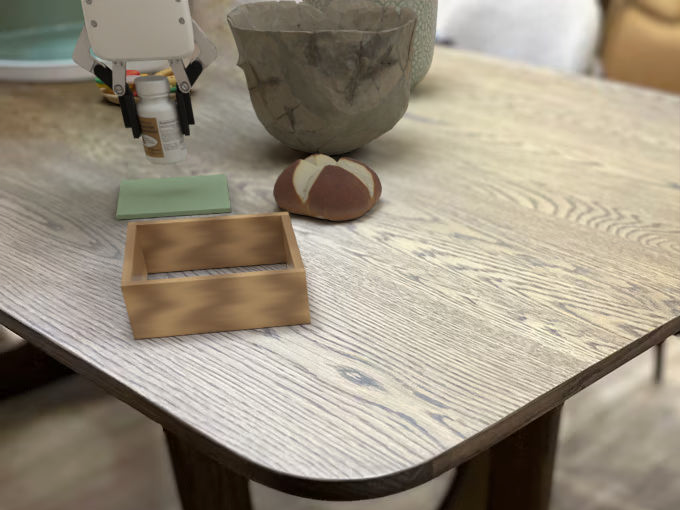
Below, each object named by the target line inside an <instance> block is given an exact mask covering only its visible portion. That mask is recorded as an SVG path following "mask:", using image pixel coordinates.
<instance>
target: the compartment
mask: <svg viewBox="0 0 680 510" xmlns="http://www.w3.org/2000/svg"><path fill="white" fill-rule="evenodd" d="M303 261H304V260H303V258H302V255H301V252H300V248H299V243H298V241H297V238H296V234H295V231H294V226H293V223H292V220H291V217H290V212H288V211H280V212H279V211H277V212H276V211H275V212H263V213H262V212H261V213H247V214H234V215H233V214H232V215H219V216H217V215H216V216H204V217H191V218H190V217H189V218H174V219H173V218H172V219H157V220H144V221H129V222H127V226H126V236H125V245H124V254H123V262H122V263H123V264H122V272H121V281H120V289H121V293H122V297H123V301H124V305H125V308H126V309H125V310H126V312H127V316H128V321H129V324H130V328H131V331H132V336H133V339H134V340H143V339H153V338H154V339H155V338H165V337H176V336H185V335H197V334H208V333H218V332H230V331H240V330H252V329H262V328H274V327H284V326H294V325H295V326H296V325H306V324H311V322H312V321H311V320H312V319H311V309H310V302H309V300H310V299H309V293H308V281H307V272H306V268H305V265H304V262H303ZM272 264H273V265H274V264H275V265H276V264H286V268H285V269H271V270H260V271H259V270H258V271H257V270H256V271H246V272H244V271H243V272H235V273H234V272H232V273H222V274H220V273H219V274H210V275H209V274H208V275H197V276H196V275H195V276H185V277H184V276H183V277H171V278H170V277H169V278H159V279H158V278H157V279H148V276H149V274H158V273H172V272H183V271H184V272H185V271H198V270H209V269H210V270H212V269H222V268H223V269H224V268H233V267H236V268H237V267H248V266H260V265H263V266H264V265H272Z"/></svg>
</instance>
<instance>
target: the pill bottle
mask: <svg viewBox="0 0 680 510" xmlns="http://www.w3.org/2000/svg"><path fill="white" fill-rule="evenodd" d="M134 82H135V87H136V92H137V95H138V96H139V97H140V101H139V102H138V103H137V104H136V114H137V118H138V123H139V127H140V131H141V140H142V145H143V150H144V153H145V159H146V160H147V161H148V162H149V163H151V164H153V165H154V164H155V165H162V166H169V165H170V166H171V165H176V164H179V163H182V162H184V161H185V160H187V158H188V151H187V145H186V140H185V135H183V133H182V127H181V122H180V117H179V111H178V106H177V101H176V100H175V101H174V100H172V99H170V97H169V95H170V94H171V92H170V90H171V89H170V84H169V80H168V77H166V76H161V75H155V74H149V75H146V76H140V77H137V78H135V79H134Z"/></svg>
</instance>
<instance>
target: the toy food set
mask: <svg viewBox="0 0 680 510" xmlns="http://www.w3.org/2000/svg"><path fill="white" fill-rule="evenodd" d="M186 67H187V66H185V68H186ZM146 75H150V74H149V73H140V71H139V70H136V69H126V83H127V84H129V87H130V89H131V91H133V94H134V99H135V103H136V104H137V103H138V102H139V101H140V97H139V96H138V95H137V92H136V87H135V82H134V79H135V78H137V77H140V76H146ZM154 75H161V76H166V77H168V80H169V84H170V89H171V90H170V92H171V94H170V95H169V97H170V99H172V100H174V101H175V102H176V95H175V89H176V82H177V81H176V79H175V76H174V74H173V71H172V69H171V67H168V68H165V69H161V70H160V71H158V72H155V74H154ZM94 82H95V83H96V87H97V88H99V91H100V94H101V95H102V97H104V98H106V99H107V100H108V101H109V102H111V103H113V104H117V105H120V103H119V99H118V95H116V94H115V93H114V91H113V90H112V89H110V88H109V87H108V86H107V85H106V84H104V83H103V82H102V81H101V80H100V79H99V78H97V77H95V78H94Z"/></svg>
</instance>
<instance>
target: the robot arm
mask: <svg viewBox="0 0 680 510" xmlns="http://www.w3.org/2000/svg"><path fill="white" fill-rule="evenodd" d="M80 3H81V8H82V13H83V18H84V24H83V26H82V29H81V31H80V34H79V37H78V39H77V41H76V44H75V47H74V49H73V52H72V55H71V59H72V61H73V62H74V63H75V64H76V65H77V66H79V67H81V68H82V69H84V70H85V71H87V72H89V73H91V74H93V75H94V76H95V78H99V79H100V80H101V81H102V82H103V83H104V84H106V85H107V86H108V87H109V88H110V89H112V90H113V91H114V93H115V94H116V95H118V99H119V103H120V104H119V108H120V112H121V116H122V121H123V124H124V128H125V129H131V133H132V137H133V139H136V140H137V139H140V138H142V136H141V131H140V127H139V123H138V118H137V114H136V103H135V99H134V94H133V91H131V89H130V87H129V84H127V83H126V70H127V62H149V61H151V62H152V61H167V62H168V64H169V68H171V69H172V71H173V74H174V76H175V79H176V81H177V82H176V89H175V95H176V100H175V102H176V103H177V106H178V111H179V117H180V122H181V127H182V133H183V135H184V137H189V136H191V131H190V130H191V129H190V126H193V125H196V121H195V116H194V110H193V104H192V98H191V93H190V92H191V91H192V88H193V87H194V85H195V83H196V82H197V80H198V79H199V77H200V76H201V75H202V73H203V71H204V70H206V69H207V68H208V67H209V66H210V65H211V64H212V63H213V62H214V61H215V60H216V59H217V57H218V55H219V53H218V48H217V47H216V46H215V44H214V43H213V42H212V41H211V39H210V38H209V37H208V36H207V34H206V33H205V32H204V31H203V29H202V28H201V27H200V26H199V24H198V23H197V22H196V21H195V19H193V17H192V13H191V7H190V3H189V0H80ZM195 45H197V47H198V48H199V49H200V51H199V52H198V53H197V54H196V55H195V56H194V58H192V59H191V60H190V62H189V63H188V65H187V66H186V65H185V63H184V60H183V59H185V58H188V57H190V56H191V55H192V54H193V53H194V51H195ZM91 51H92V53H93V54H94V56H93V55H92V54H91ZM96 57H97V58H98V59H101V60H102V61H106V62H111V65H112V67H111V68H110V67H109V66H108V65H107V64H106V63H104V62H102V61H100V60H98V59H97V58H96ZM185 67H186V68H185Z"/></svg>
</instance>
